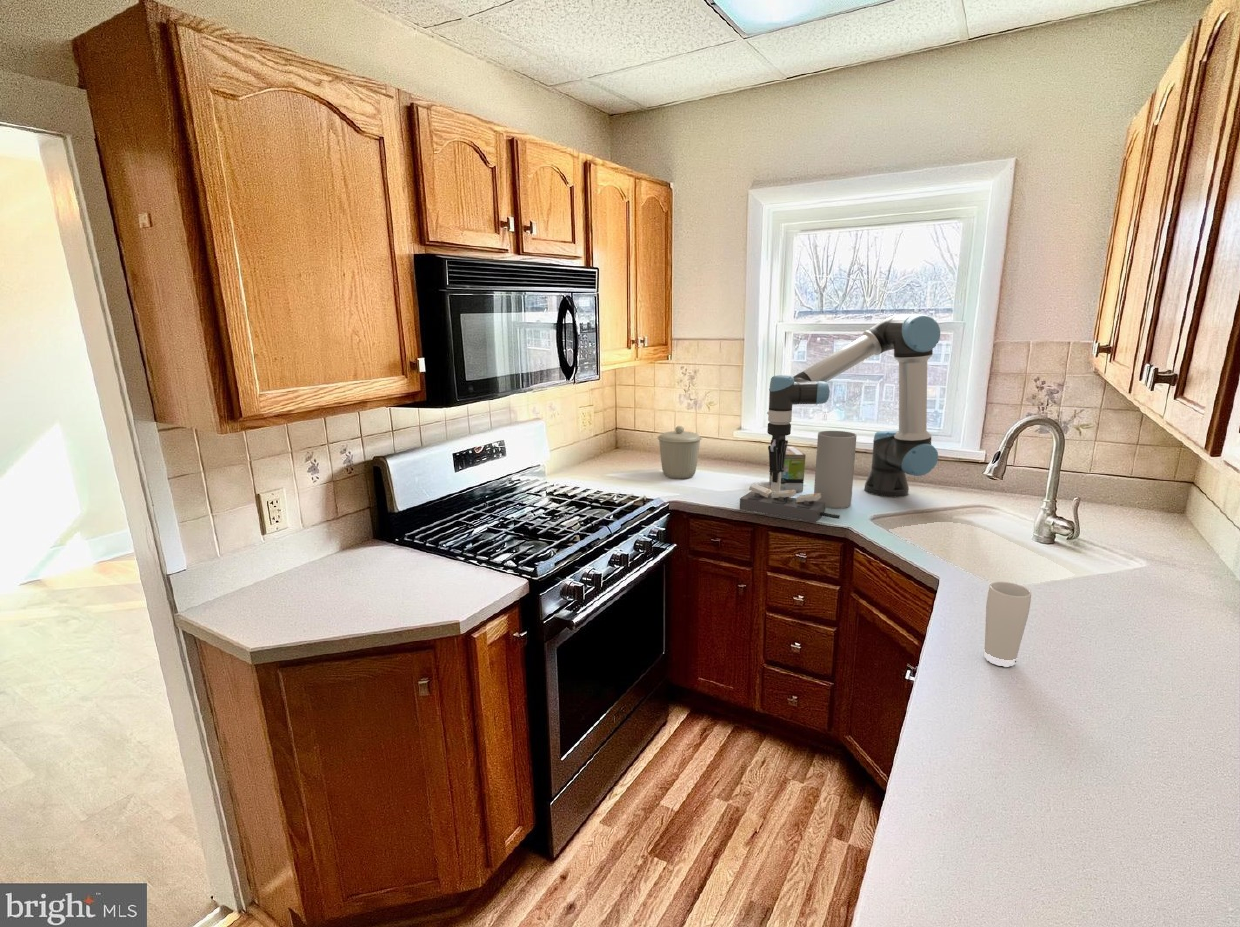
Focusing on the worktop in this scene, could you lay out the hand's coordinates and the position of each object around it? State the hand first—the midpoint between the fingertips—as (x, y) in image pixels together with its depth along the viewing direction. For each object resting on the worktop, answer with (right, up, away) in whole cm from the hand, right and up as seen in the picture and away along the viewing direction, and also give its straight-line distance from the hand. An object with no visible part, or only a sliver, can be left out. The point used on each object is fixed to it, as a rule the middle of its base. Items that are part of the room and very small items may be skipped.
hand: (775, 490), depth 209 cm
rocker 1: (-5, -1, +3) cm, 6 cm away
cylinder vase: (+21, -5, +6) cm, 23 cm away
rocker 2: (+3, -2, -1) cm, 4 cm away
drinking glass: (+20, -29, -91) cm, 98 cm away
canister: (-29, +4, +46) cm, 54 cm away
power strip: (+4, -7, -3) cm, 9 cm away
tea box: (+11, 0, +28) cm, 30 cm away
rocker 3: (+10, -3, -6) cm, 12 cm away
